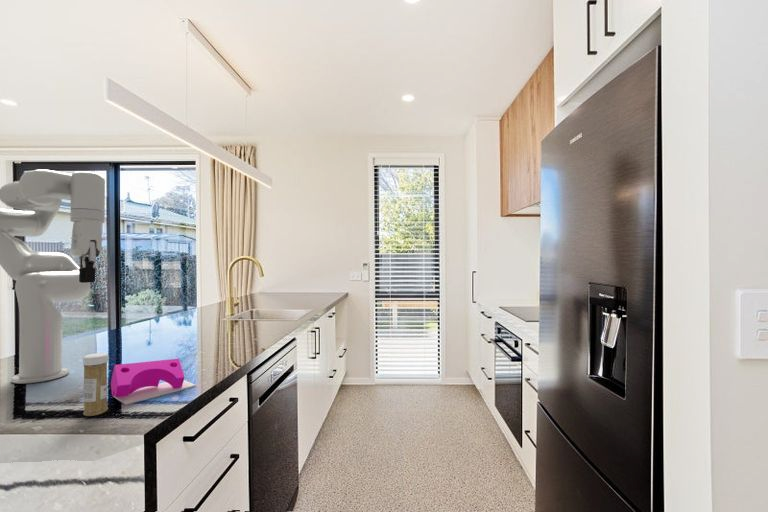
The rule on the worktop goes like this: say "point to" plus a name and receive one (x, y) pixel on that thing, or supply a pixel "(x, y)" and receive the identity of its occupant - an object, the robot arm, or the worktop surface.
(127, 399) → the mat
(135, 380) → the toy block
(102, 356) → the sprinkles bottle
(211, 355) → the worktop surface
